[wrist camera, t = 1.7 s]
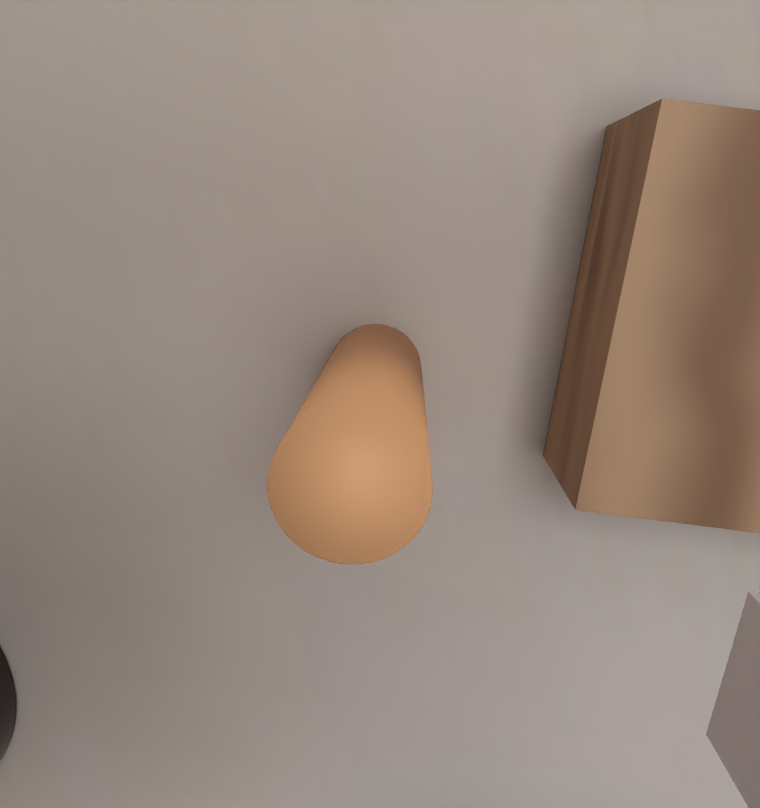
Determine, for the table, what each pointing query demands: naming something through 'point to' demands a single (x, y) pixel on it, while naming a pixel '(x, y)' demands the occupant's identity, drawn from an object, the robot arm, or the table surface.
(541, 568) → the table surface
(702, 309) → the block
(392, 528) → the pin
